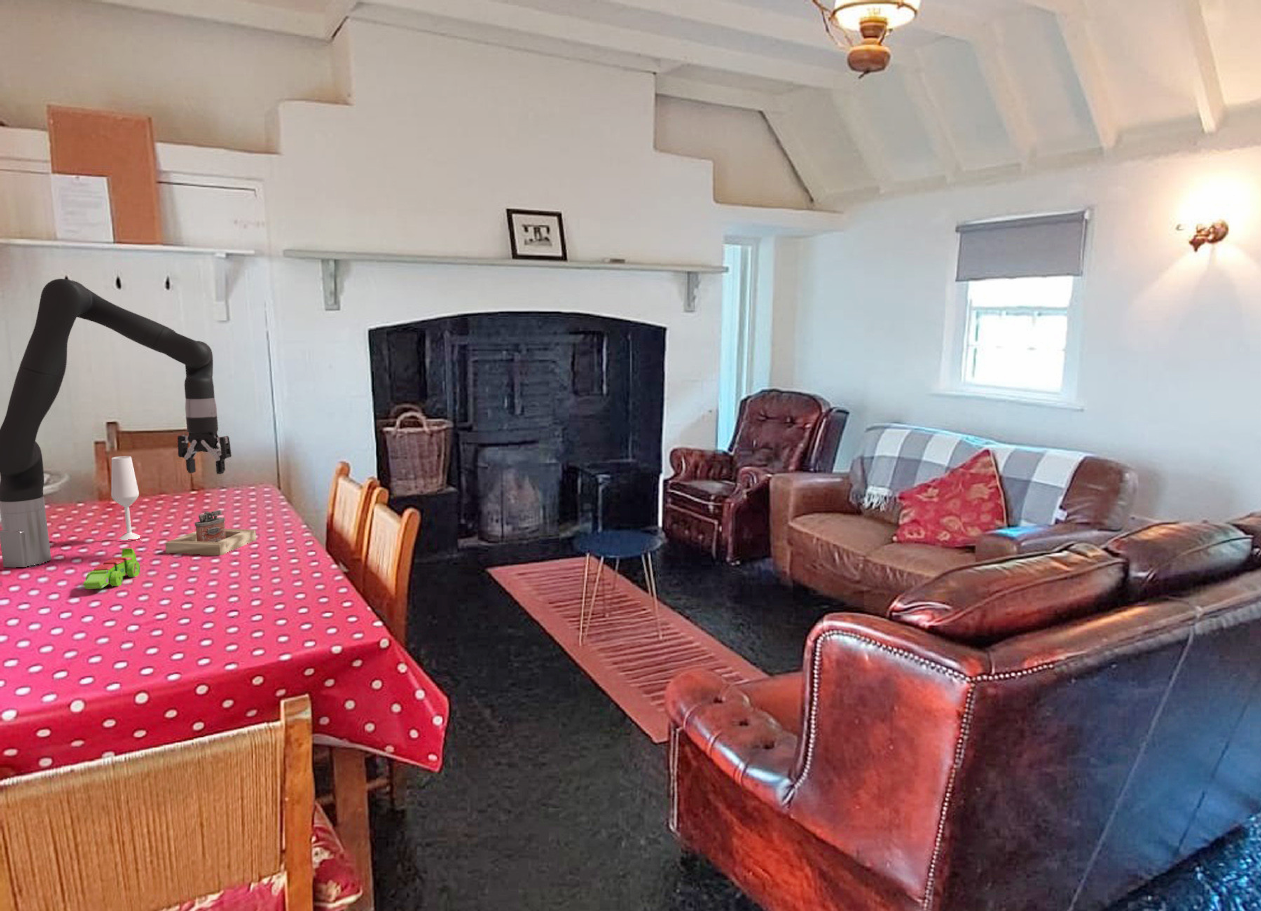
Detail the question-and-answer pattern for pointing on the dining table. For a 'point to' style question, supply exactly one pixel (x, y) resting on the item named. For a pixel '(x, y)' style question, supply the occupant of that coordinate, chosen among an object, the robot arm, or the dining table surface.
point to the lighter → (210, 527)
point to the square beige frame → (211, 543)
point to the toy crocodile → (113, 571)
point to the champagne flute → (124, 489)
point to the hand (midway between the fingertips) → (206, 473)
